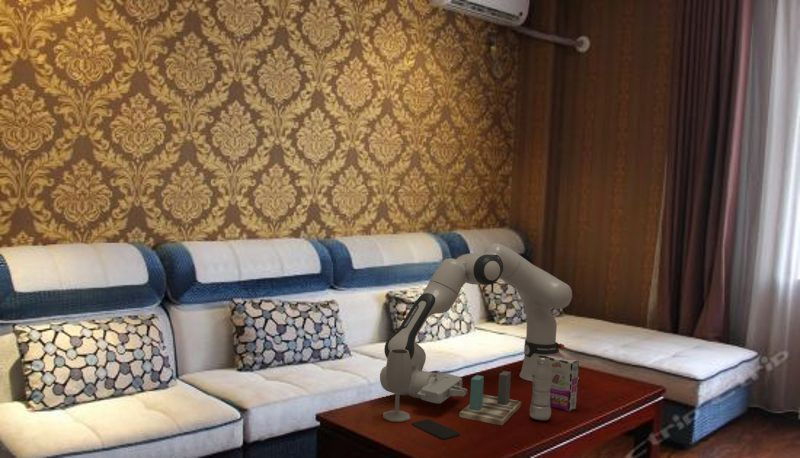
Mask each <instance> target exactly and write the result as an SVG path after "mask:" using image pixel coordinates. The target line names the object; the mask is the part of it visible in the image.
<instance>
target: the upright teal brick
mask: <svg viewBox="0 0 800 458" xmlns="http://www.w3.org/2000/svg"><path fill="white" fill-rule="evenodd" d="M484 379H485V377H484V376H483V375H478V374H477V375H475V376H473V377H472V378H471V379H470V392H469V393H470V395H469V404H470V409H473V410H479V409H480V408H482V401H483V394H484V381H485V380H484Z"/></svg>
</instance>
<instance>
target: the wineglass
mask: <svg viewBox="0 0 800 458" xmlns="http://www.w3.org/2000/svg"><path fill="white" fill-rule="evenodd" d="M385 366H386V380H387V385H388V388H389V389H390V390H391V391H392V392H393V393H392V394H394V395H395V400H394V410H388V411H385V412H382V417H383V419H384V420H385V421H389V422H391V423H394V422H395V423H404V422H406V421H409V420H411V415H410V413H408V412H405V411H403V410H400V396H401V395H400V394H401V393H403V392H404V391H405V390H407V389H408V388H409V385H410V382H411V376H412V368H411V359H410V355H409V351H408V350H405V349H391V350H390V352H389V355H388V359H387V358H386V364H385Z"/></svg>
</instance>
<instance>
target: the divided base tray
mask: <svg viewBox="0 0 800 458" xmlns="http://www.w3.org/2000/svg"><path fill="white" fill-rule="evenodd" d="M497 403H498V396H494V395H488V394H484V393H483V401H482V408H480V409H479V410H473V409H470V403H469V404H468V405H466V406H465V407H463V408H462V410H460V411H459V414H458V415H459V416H458V417H459V418H463V419H467V420H468V419H469V420H473V421H478V422H482V423H486V424H493V425H496V426H497V425H498V426H504V424H506V423H507V422H508V421H509V420H510V418H511V417H512V416H513V415H515V413H517V412H518V410H519V409H520V408H521V407H522V401H519V400H516V399H515V400H514V399H511V398H509V403H508V404H506V405H502V404H497Z"/></svg>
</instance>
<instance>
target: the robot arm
mask: <svg viewBox="0 0 800 458" xmlns="http://www.w3.org/2000/svg"><path fill="white" fill-rule="evenodd" d="M499 279H501V280H502V281H504V282H505V283H506V284H508V285H509V286H511V287H512V288H513V289H515V290H516V291H517V293H518V295H519V296H520V298H521V301H522V302H523V303H522V304H523V307H524V310H525V317H526V333H525V334H526V336H525V340H524V346H523V347H524V348H523V353H524V357H523V361H522V362H523V363H522V366H521V370H520V373H519V377H520V378H521V379H522V380H525V381H529V382H532V370H533V368H534V367H535V366H536V365H537V364H538V363H537V357H538V356H547V355H555V356H559V357H564V358H567V357H566V356H565V355H564V354H563V353H561V352H560V350H564V349H565V345H564V344H562V343H558V342H557V325H558V324H557V319H556V318H555V316H554V315H553V313H552V310H551V309H558V310H559V309H565V308H566V307H567V306H569V305H570V303H571V301H572V298H573V290H572V288H571V286H570V285H568V283H565V282H564V281H562V280H560V279H559V278H557V277H556V276H554V275H552V274H551V273H549V272H548V271H545V270H544V269H542V268H540V267H538V266H536V265H534V264H533V263H531V262H530V261H528V260H527V259H526V258H524V257H523V256H521V255H520V254H519V253H517V252H516V251H515V250H513V249H512V248H510V247H508V246H506V245H504V244H501V243H498V242H494V243H491V244H489V245H488V246H487V247H486V248H485V249H484V251H483V253H477V252H474V253H466V252H465V253H461V254H458V255H455V257H454V258H445V259H443V260H442V262H441V263H440V264H439V265H438V267H437V268H436V269H435V271H434V273H433V275H432V276H431V278H430V280H429V282H428V283H427V285H426V287H425V289H424V290H423V292H422V294H420V296H419V297H418V298H417V299H416V301H415V302H414V303H413V305H412V306H411V308H410V309H409V311H408V313H407V314H406V316H405V318H404V320H403V321H402V323H401V324H400V326H399V327H398V328H397V329H396V331H395V332H393V334H391V335H390V336H389V337H388V338H387V340H386V342H385V344H384V351H383V352H384V355H385V358H386V360H387V359H388V355H389V352H390V350H391V349H405V350H408V351H409V355H410V359H411V368H412V376H411V382H410V385H409V388H408V389H407V390H405V391H404V392H403V393H401V394H400V396H410V397H412V398H416V399H420V400H422V401H425V402H429V403H432V404H442V403H443V402H445V401H446V400H447V399H449V398H450V397H465V395H467V394H468V389H467V388H465V387H463V378H462V377H461V376H458V375H453V374H451V373H445V372H444V373H443V372H441V371H440V370H431V371H424V370H423V368H424V366H425V363H426V359H427V357H426V355H427V354H426V352H425V350H424V348H422V346H421V345H419V344H418V343H417V342H416V339H417V336H418V334H419V332H420V331H421V329H422V328H423V326H424V324H425V322H426V321H427V320H428V318H429V317H430V316H432V315H436V314H443V313H444V314H445V313H447V312H448V311H450V309H451V308H452V307H453V305H454V304H455V302H456V300H457V298H458V296H459V294H460V292H461V290H462V287H464V285H465V284H466V283H467V284H471V285H478V286H479V285H482V286H490V285H493V284H495V283H496V282H497V281H498V280H499ZM578 380H580V377H579V376H578ZM379 381H380V385H381V387H382V389H384V390H385V391H386V392H388V393H391V394H394V393H393V392H392V391H391V390H390V389H389V388H388V385H387V380H386V365H385V366H383V367H382V369H381V370H380V373H379Z"/></svg>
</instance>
